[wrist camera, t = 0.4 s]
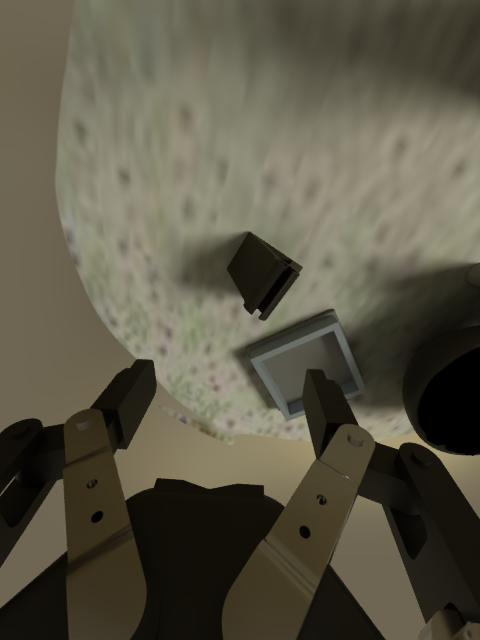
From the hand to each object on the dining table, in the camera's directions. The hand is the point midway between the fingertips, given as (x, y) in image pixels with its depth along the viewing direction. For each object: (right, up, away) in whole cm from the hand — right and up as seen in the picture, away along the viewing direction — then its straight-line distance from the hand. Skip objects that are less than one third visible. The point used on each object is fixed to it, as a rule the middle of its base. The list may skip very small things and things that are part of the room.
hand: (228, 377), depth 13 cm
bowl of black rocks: (+34, -3, +28) cm, 44 cm away
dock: (+12, -4, +29) cm, 32 cm away
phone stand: (+4, +11, +23) cm, 26 cm away
